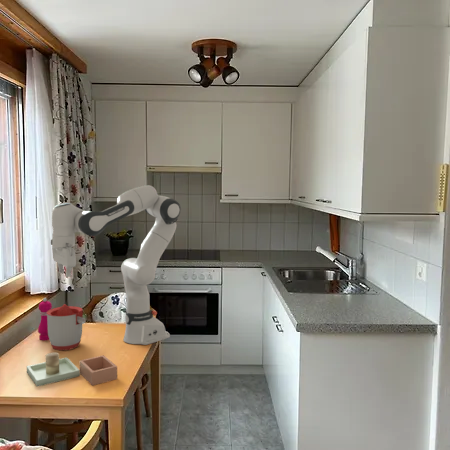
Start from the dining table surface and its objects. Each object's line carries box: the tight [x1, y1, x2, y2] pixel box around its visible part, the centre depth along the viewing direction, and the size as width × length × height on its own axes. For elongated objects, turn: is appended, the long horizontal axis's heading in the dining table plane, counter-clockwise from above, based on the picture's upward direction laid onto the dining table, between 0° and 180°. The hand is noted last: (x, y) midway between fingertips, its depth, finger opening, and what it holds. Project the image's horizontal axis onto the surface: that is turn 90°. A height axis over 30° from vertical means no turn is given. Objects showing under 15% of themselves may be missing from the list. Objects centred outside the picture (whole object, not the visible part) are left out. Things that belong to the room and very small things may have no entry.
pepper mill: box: [37, 297, 53, 342], centre depth 219 cm, size 7×7×20 cm
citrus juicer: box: [47, 303, 87, 351], centre depth 209 cm, size 16×17×20 cm
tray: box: [26, 357, 81, 387], centre depth 180 cm, size 16×16×2 cm
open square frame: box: [78, 355, 118, 386], centre depth 178 cm, size 10×14×5 cm
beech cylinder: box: [44, 352, 60, 375], centre depth 179 cm, size 5×5×7 cm
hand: (64, 274), depth 190 cm, fingers open, 8 cm apart
